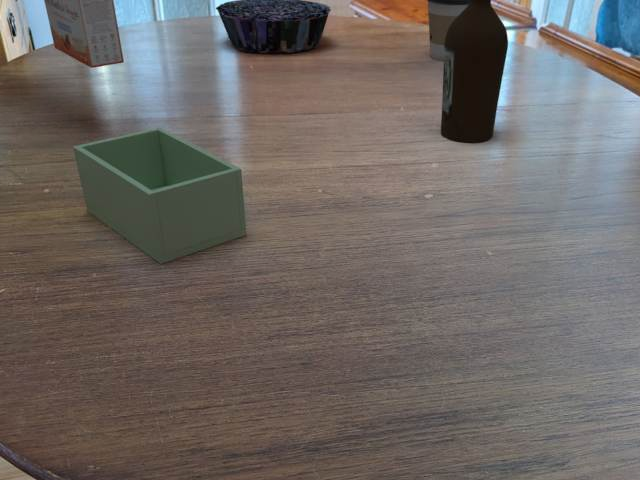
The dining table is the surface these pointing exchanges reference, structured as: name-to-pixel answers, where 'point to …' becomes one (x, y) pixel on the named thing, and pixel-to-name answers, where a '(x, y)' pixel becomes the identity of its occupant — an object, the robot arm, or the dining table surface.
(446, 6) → the coffee cup
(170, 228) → the bin
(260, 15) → the decorative bowl
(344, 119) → the dining table surface
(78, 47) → the cracker box
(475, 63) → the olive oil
